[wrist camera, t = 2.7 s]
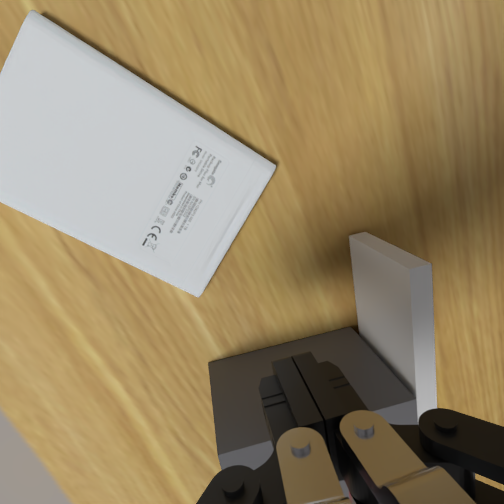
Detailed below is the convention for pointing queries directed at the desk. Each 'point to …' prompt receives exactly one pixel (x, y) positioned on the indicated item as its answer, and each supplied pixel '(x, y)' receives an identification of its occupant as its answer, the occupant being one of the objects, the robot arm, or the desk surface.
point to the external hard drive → (119, 160)
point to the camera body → (259, 366)
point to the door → (396, 313)
